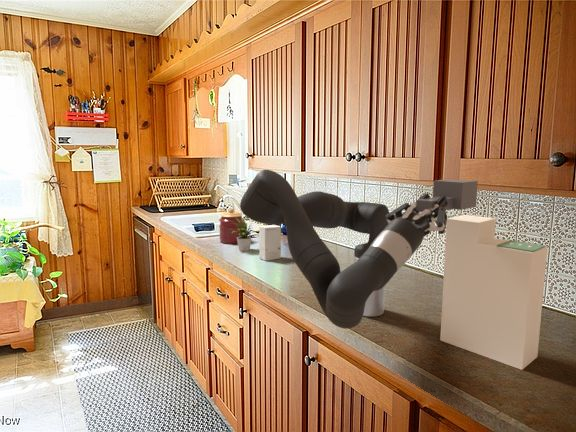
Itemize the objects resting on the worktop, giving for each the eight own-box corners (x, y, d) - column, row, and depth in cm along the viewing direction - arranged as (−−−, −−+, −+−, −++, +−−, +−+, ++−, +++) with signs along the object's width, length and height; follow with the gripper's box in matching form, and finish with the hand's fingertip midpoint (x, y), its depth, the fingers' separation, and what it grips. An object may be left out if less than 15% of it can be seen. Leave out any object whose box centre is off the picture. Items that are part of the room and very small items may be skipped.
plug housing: (408, 210, 95) (410, 183, 94) (447, 203, 106) (449, 179, 105) (438, 214, 90) (439, 185, 89) (475, 206, 100) (477, 180, 99)
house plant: (221, 249, 212) (220, 216, 209) (244, 245, 221) (243, 213, 218) (239, 254, 201) (238, 220, 199) (262, 249, 210) (261, 216, 208)
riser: (440, 340, 112) (446, 218, 107) (457, 330, 118) (464, 214, 113) (521, 369, 98) (534, 230, 92) (537, 357, 103) (549, 224, 98)
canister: (235, 237, 239) (235, 205, 236) (249, 241, 229) (248, 208, 226) (215, 241, 231) (214, 208, 228) (228, 245, 221) (227, 211, 218)
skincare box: (265, 261, 190) (264, 227, 188) (258, 258, 195) (258, 225, 193) (281, 258, 194) (281, 226, 192) (275, 255, 199) (274, 223, 197)
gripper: (420, 237, 80) (463, 185, 88) (360, 226, 90) (404, 181, 99) (430, 267, 83) (470, 215, 92) (371, 254, 94) (412, 208, 102)
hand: (436, 198), depth 95 cm, fingers closed on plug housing, 3 cm apart
